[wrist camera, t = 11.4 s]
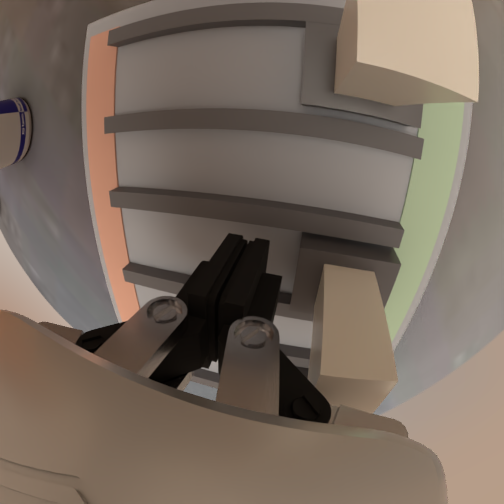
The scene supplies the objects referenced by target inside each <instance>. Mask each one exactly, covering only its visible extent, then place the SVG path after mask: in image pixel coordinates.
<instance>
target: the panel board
mask: <svg viewBox="0 0 504 504" xmlns="http://www.w3.org/2000/svg"><path fill="white" fill-rule="evenodd" d="M345 2H346V0H154V1H150V2H147V3H143V4H140V5H137V6H134V7H131V8H128V9H125V10H122V11H120V12H117V13H114V14H112V15H109V16H107V17H104V18H102V19H100V20H97V21H95V22H93V23H91V24H88V27H87V34H86V42H85V51H84V61H83V75H82V139H83V154H84V166H85V175H86V184H87V191H88V198H89V205H90V211H91V217H92V222H93V228H94V233H95V238H96V242H97V247H98V251H99V256H100V260H101V264H102V268H103V272H104V275H105V279H106V283H107V286H108V290H109V293H110V297H111V300H112V303H113V306H114V309H115V313H116V316H117V319H118V321H119V323H121V322H125V321H128V320H129V319H130V318H131V317H132V316H133V315H134V314H135V313H136V312H137V311H138V310H139V309H141V308H142V307H143V306H144V305H145V304H146V303H147V302H148V301H150V300H151V299H154V298H156V297H160V296H173V297H176V296H177V294H178V293H179V291H180V290H181V289H182V287H183V286H184V284H185V283H186V282H187V280H188V279H189V277H190V276H191V275H192V273H193V272H194V270H195V269H196V268H197V266H198V265H199V264H200V262H201V261H209V260H210V259H211V257H212V256H213V255H214V253H215V252H216V250H217V249H218V247H219V246H220V245H221V243H222V242H223V240H224V239H225V237H226V236H227V235H228V233H232V234H238V235H243V239H245V240H247V241H248V243H249V241H250V240H251V241H254V240H255V238H260V239H266V240H270V245H269V253H268V261H267V268H266V273H269V274H275V275H280V276H282V282H281V288H280V293H279V298H278V303H277V308H276V312H275V317H274V321H273V324H274V325H275V326H276V328H277V329H278V331H279V336H280V347H279V349H280V350H281V351H282V352H283V353H284V354H285V355H286V356H287V357H288V358H289V360H290V361H291V362H292V363H293V364H294V365H295V366H297V367H304V368H309V361H310V352H311V342H312V330H313V318H314V314H309V313H303V312H297V311H291V310H289V308H290V302H291V297H292V291H293V285H294V280H295V274H296V268H297V262H298V255H299V249H300V243H301V236H302V232H307V233H313V234H319V235H325V236H331V237H337V238H343V239H349V240H355V241H361V242H366V243H372V244H378V245H383V246H389V247H393V248H394V250H395V252H396V254H397V256H398V258H399V260H400V263H401V267H400V270H399V273H398V276H397V278H396V281H395V284H394V286H393V289H392V291H391V294H390V296H389V299H388V301H387V304H386V306H385V308H384V311H385V315H386V319H387V324H388V329H389V333H390V338H391V343H392V349H393V352H394V350H395V348H396V346H397V345H398V343H399V341H400V339H401V338H402V336H403V334H404V332H405V330H406V328H407V326H408V324H409V323H410V321H411V319H412V317H413V315H414V313H415V311H416V309H417V306H418V304H419V302H420V300H421V298H422V296H423V294H424V291H425V289H426V287H427V285H428V282H429V280H430V277H431V275H432V273H433V270H434V268H435V265H436V263H437V260H438V257H439V255H440V252H441V249H442V246H443V243H444V241H445V238H446V235H447V232H448V228H449V225H450V222H451V219H452V215H453V212H454V208H455V205H456V201H457V197H458V193H459V189H460V185H461V180H462V176H463V171H464V166H465V161H466V155H467V149H468V142H469V135H470V127H471V118H472V106H473V102H450V103H427V104H423V113H422V122H421V129H420V128H414V127H408V126H404V125H400V124H396V123H393V122H389V121H385V120H381V119H376V118H372V117H367V116H363V115H358V114H353V113H347V112H342V111H336V110H330V109H323V108H316V107H308V106H303V105H302V104H301V94H302V80H303V65H304V47H305V27H306V21H308V22H318V23H326V24H333V25H340V24H341V19H342V15H343V11H344V7H345ZM219 380H220V374H219V373H218V360H217V362H213V361H212V362H211V365H210V367H209V369H207V368H203V367H202V368H200V369H198V370H195V371H194V375H193V377H192V379H191V380H190V381H193V382H196V383H200V384H203V385H207V386H210V387H214V388H218V385H219Z"/></svg>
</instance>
